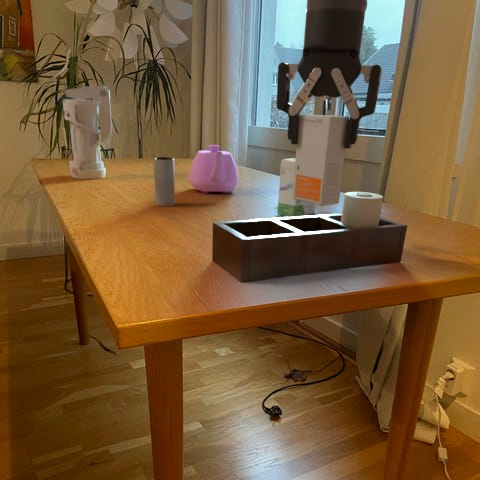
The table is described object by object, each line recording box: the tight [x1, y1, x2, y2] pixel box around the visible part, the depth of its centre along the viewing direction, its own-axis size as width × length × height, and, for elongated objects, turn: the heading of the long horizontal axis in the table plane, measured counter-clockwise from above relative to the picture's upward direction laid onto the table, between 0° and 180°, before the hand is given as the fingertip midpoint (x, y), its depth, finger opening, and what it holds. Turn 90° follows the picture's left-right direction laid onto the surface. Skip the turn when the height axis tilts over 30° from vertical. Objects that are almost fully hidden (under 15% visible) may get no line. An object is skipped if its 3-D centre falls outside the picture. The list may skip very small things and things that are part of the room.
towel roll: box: [341, 191, 384, 228], centre depth 77 cm, size 6×6×10 cm
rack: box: [211, 213, 408, 283], centre depth 74 cm, size 29×10×6 cm, turn 116°
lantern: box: [62, 85, 113, 180], centre depth 139 cm, size 13×10×25 cm
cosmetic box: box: [292, 113, 350, 207], centre depth 69 cm, size 6×4×12 cm
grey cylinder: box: [153, 156, 176, 207], centre depth 109 cm, size 4×4×10 cm
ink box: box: [276, 157, 316, 217], centre depth 105 cm, size 8×5×12 cm, turn 139°
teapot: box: [188, 144, 239, 194], centre depth 127 cm, size 20×13×12 cm, turn 11°
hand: (321, 145), depth 68 cm, fingers closed on cosmetic box, 7 cm apart
